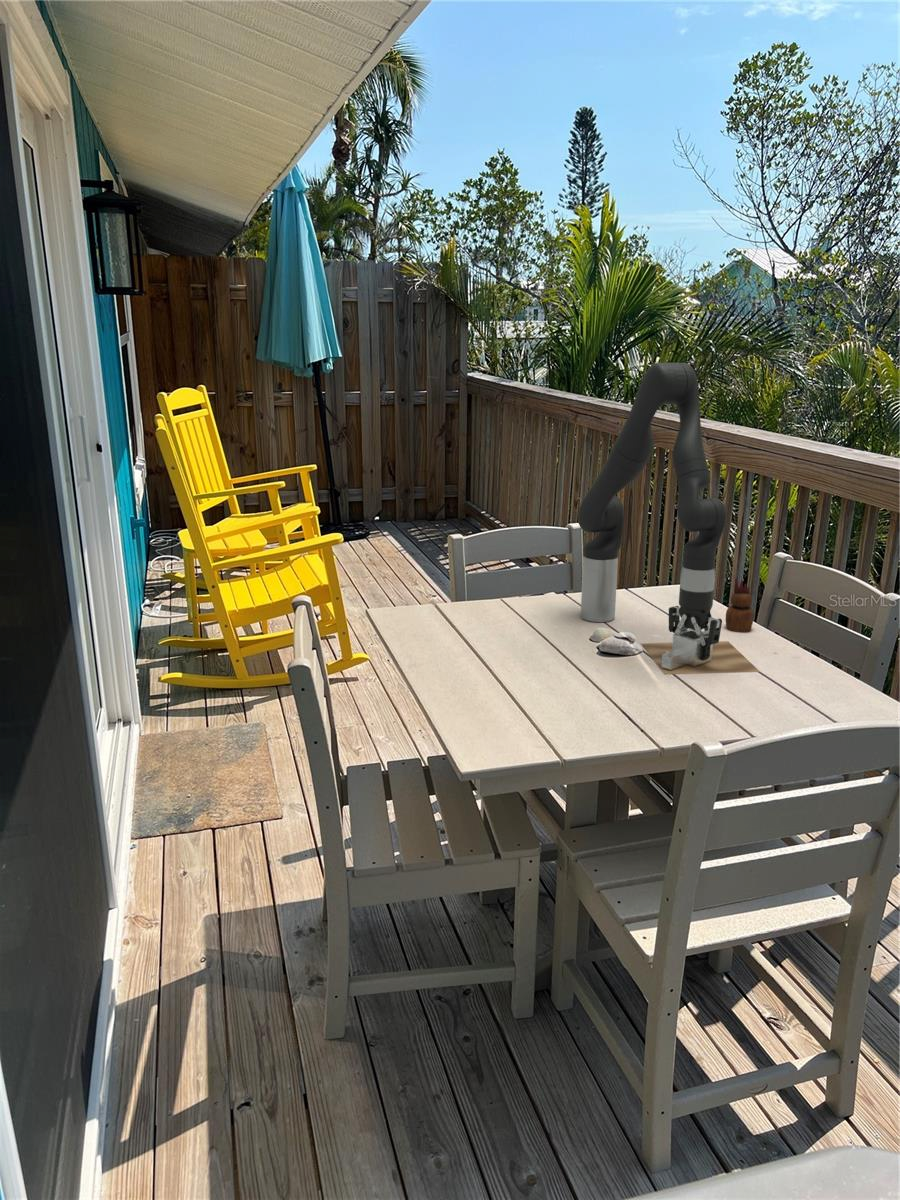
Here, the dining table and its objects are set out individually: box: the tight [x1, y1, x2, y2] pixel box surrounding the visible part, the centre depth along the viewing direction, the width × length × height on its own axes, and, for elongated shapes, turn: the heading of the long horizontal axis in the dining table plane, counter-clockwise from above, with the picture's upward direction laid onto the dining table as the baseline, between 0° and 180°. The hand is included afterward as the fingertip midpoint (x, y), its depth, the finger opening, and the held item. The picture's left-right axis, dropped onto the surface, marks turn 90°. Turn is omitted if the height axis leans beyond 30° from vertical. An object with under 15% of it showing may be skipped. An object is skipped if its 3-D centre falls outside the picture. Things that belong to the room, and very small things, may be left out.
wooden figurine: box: [725, 577, 755, 633], centre depth 226 cm, size 7×6×15 cm
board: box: [640, 640, 761, 676], centre depth 209 cm, size 20×22×2 cm
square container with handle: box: [662, 629, 713, 670], centre depth 204 cm, size 12×6×6 cm, turn 128°
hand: (691, 655), depth 206 cm, fingers closed on square container with handle, 6 cm apart
